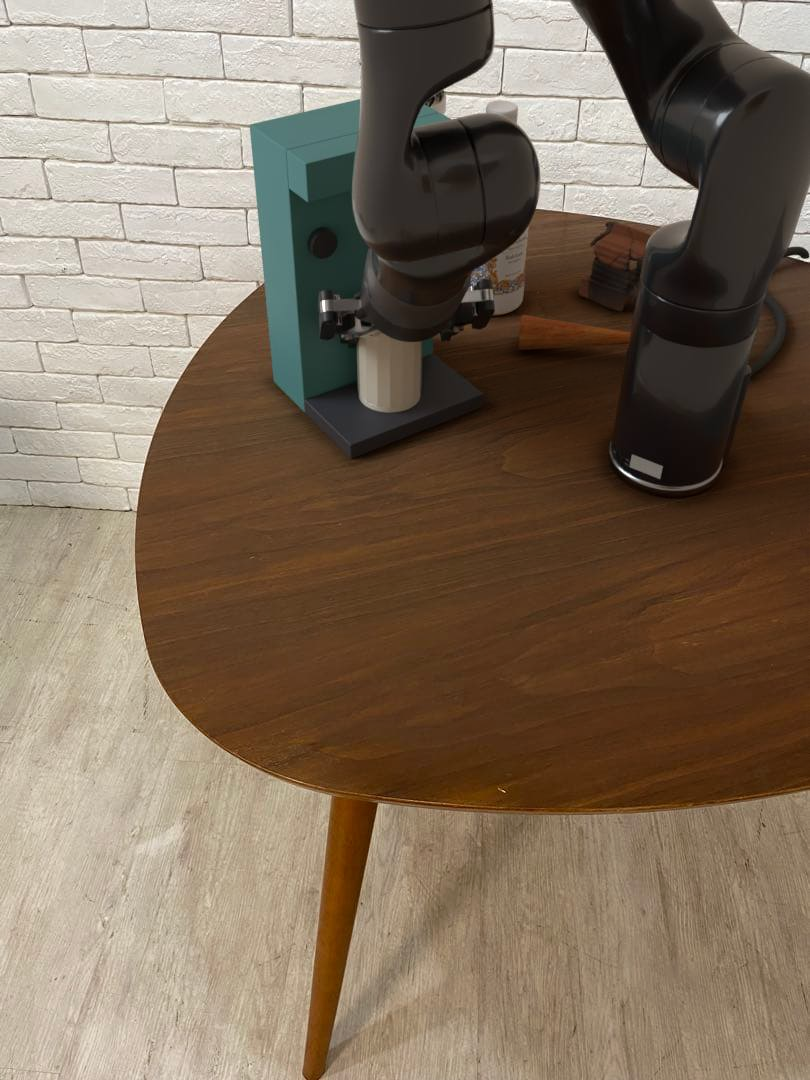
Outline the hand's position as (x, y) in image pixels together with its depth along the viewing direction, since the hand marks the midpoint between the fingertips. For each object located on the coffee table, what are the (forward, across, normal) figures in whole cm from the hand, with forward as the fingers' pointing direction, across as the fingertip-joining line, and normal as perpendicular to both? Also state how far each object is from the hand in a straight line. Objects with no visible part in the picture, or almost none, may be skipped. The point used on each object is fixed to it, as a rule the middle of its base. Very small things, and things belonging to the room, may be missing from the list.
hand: (397, 333), depth 92 cm
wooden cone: (+8, -22, +2) cm, 24 cm away
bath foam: (+16, -12, -7) cm, 21 cm away
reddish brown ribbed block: (+16, -26, -6) cm, 32 cm away
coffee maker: (+6, +2, +4) cm, 7 cm away
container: (+3, +1, +5) cm, 6 cm away
